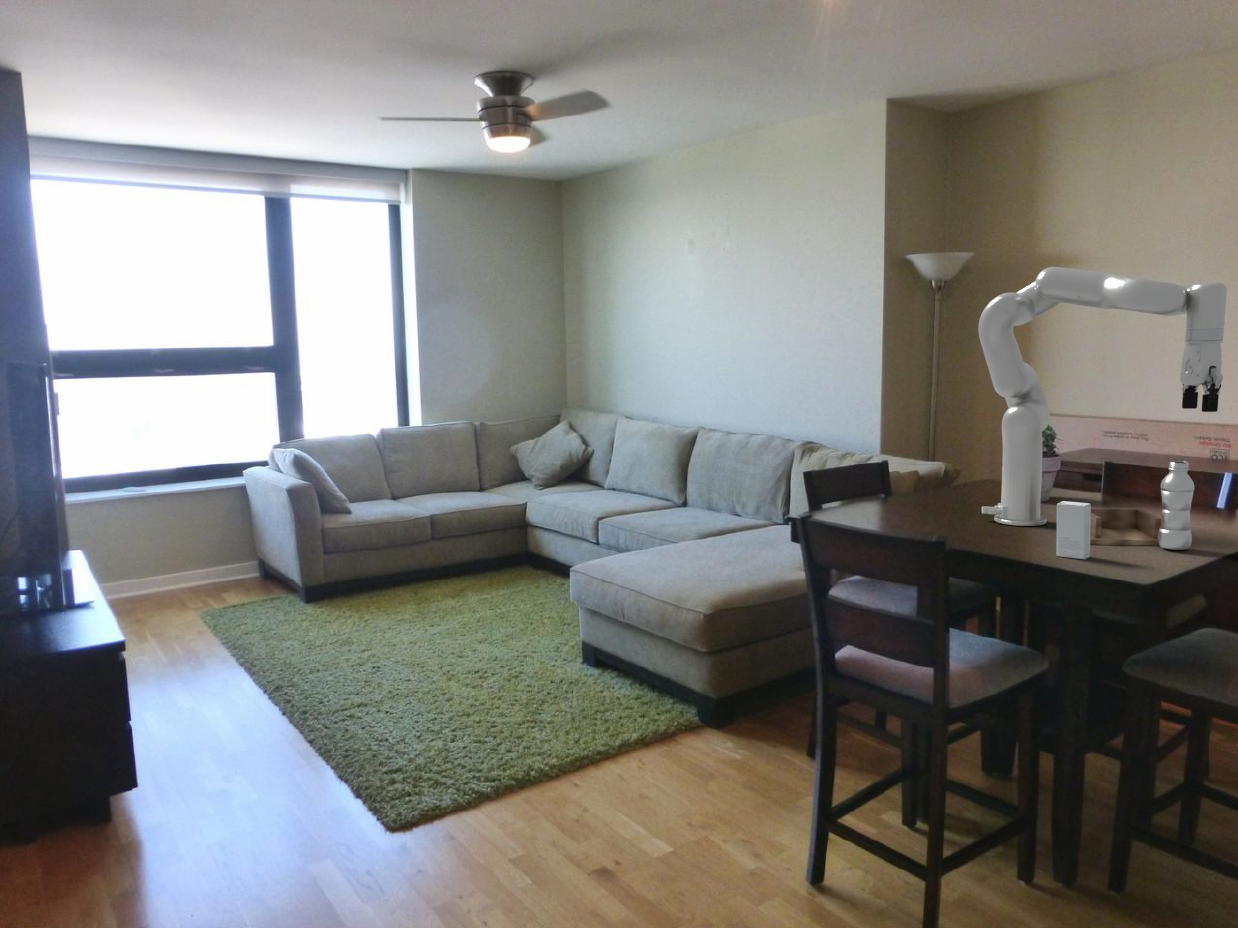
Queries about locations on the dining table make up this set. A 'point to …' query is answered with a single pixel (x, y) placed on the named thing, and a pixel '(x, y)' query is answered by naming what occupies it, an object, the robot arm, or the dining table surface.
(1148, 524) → the brown tray
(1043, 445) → the potted plant
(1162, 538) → the silver bottle
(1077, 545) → the skincare box
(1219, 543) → the dining table surface
